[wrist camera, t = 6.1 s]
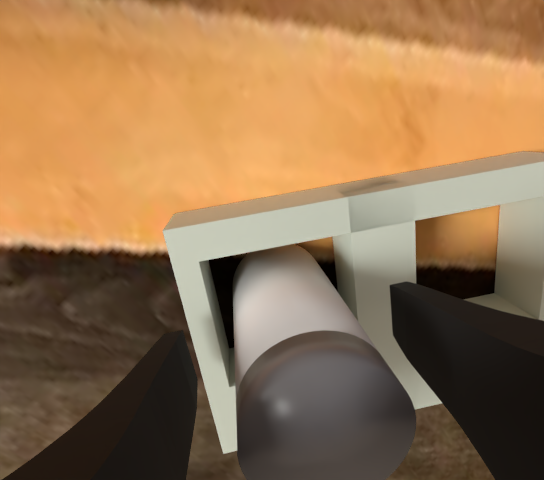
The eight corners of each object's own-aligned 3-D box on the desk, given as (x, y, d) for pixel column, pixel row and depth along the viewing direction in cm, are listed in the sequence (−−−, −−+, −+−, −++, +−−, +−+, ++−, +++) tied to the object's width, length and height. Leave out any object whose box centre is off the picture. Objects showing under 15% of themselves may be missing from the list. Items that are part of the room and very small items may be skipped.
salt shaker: (314, 232, 14) (411, 343, 7) (326, 312, 16) (419, 481, 8) (223, 253, 14) (217, 391, 7) (243, 332, 15) (257, 525, 8)
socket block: (523, 151, 14) (586, 155, 12) (506, 345, 18) (554, 381, 15) (174, 213, 13) (161, 232, 11) (224, 408, 16) (223, 458, 14)
